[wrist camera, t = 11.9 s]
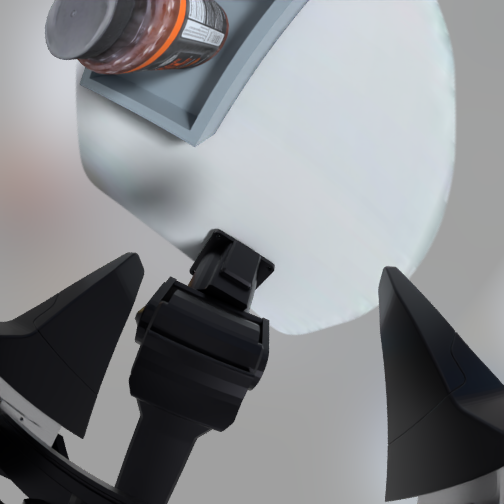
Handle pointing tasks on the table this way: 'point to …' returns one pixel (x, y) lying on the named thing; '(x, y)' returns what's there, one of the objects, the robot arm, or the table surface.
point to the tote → (202, 73)
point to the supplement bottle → (136, 33)
